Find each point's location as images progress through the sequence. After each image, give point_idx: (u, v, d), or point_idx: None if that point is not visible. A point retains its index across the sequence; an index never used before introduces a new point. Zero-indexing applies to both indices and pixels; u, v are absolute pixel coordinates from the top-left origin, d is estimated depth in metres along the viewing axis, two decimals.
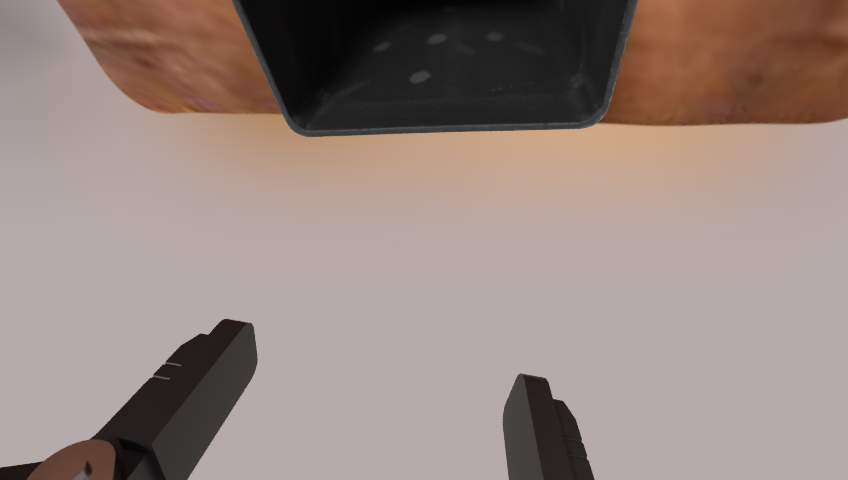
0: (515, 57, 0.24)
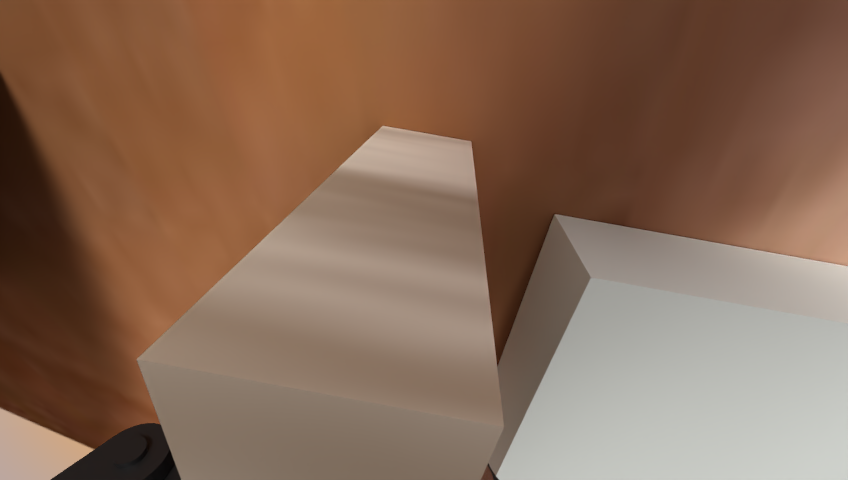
0: None
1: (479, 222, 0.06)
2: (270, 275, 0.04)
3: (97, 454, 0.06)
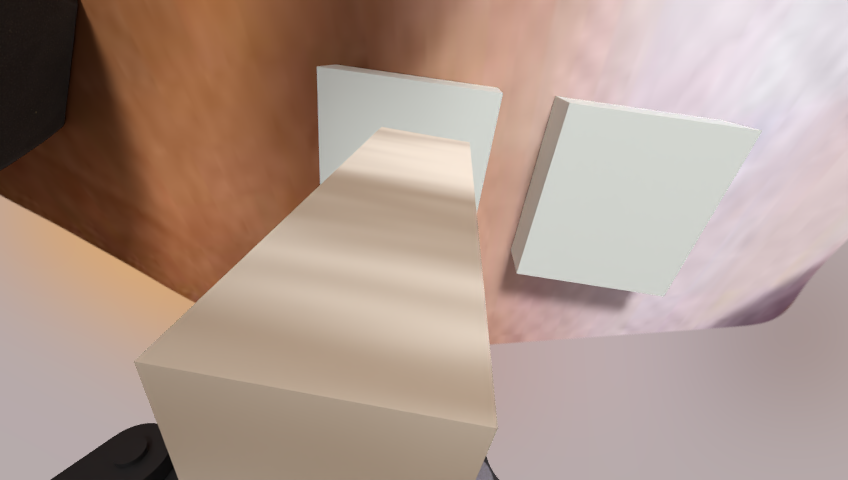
0: None
1: (477, 223, 0.06)
2: (267, 277, 0.04)
3: (97, 454, 0.06)
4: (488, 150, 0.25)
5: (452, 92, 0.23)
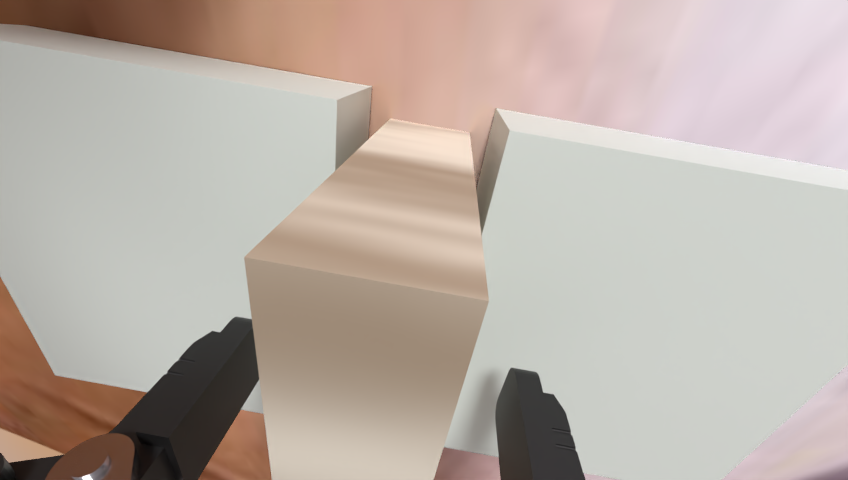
0: None
1: (475, 190, 0.08)
2: (319, 217, 0.05)
3: None
4: None
5: (211, 92, 0.09)
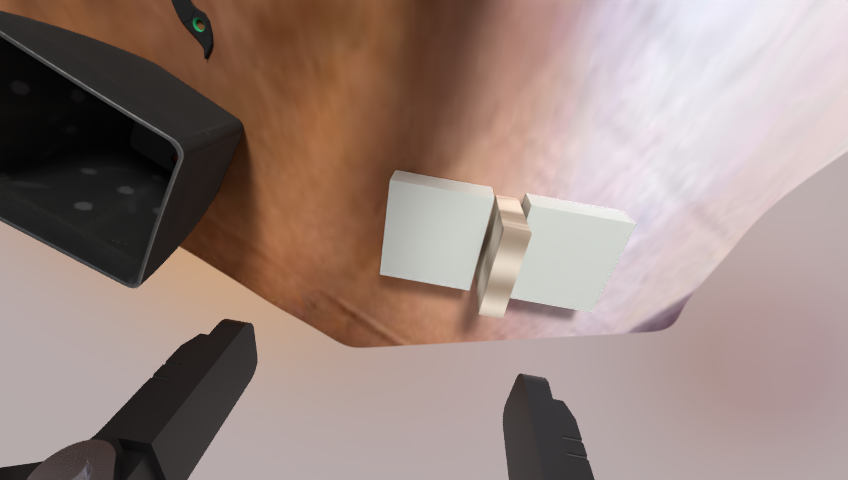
0: (152, 229, 0.42)
1: (525, 219, 0.40)
2: (506, 224, 0.38)
3: None
4: (485, 226, 0.43)
5: (466, 196, 0.41)
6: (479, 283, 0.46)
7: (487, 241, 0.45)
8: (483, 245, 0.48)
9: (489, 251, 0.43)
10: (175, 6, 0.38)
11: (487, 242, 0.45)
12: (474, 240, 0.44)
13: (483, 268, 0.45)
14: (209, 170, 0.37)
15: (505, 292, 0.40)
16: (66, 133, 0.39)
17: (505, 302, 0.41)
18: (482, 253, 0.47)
